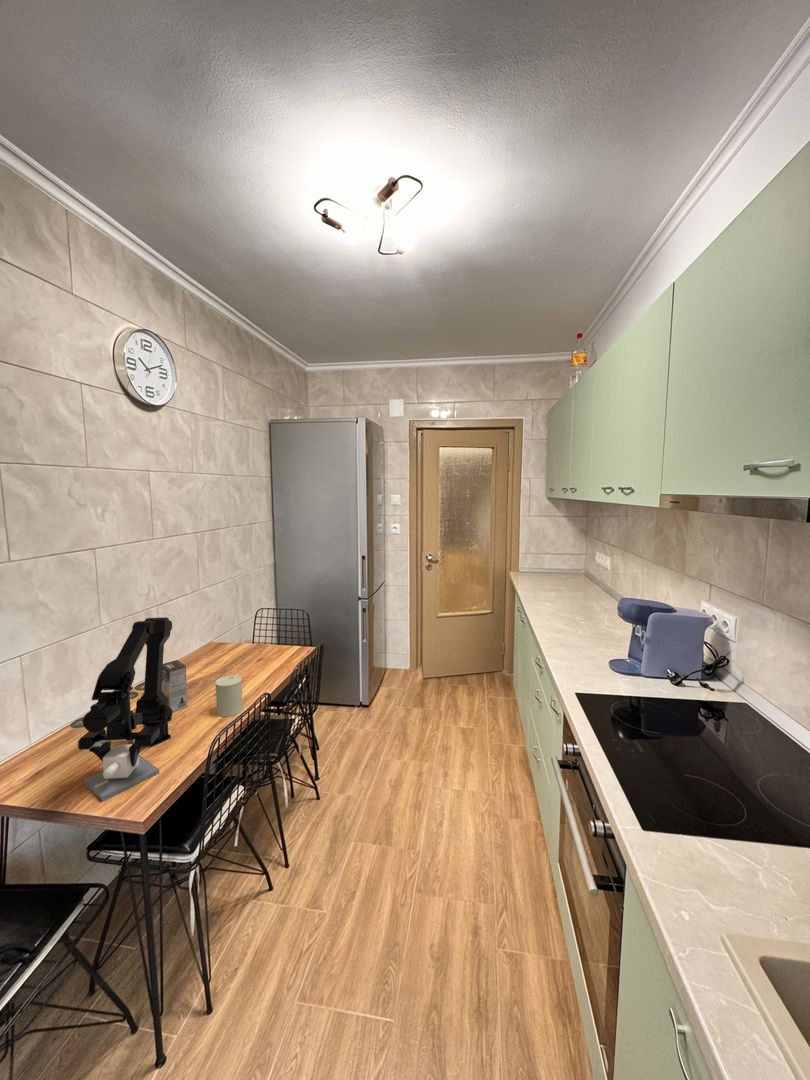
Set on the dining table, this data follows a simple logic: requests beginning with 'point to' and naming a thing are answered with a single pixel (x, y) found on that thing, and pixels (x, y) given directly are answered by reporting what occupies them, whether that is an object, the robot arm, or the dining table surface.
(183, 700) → the coffee box
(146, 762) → the grey slotted slab
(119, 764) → the cream rectangular block
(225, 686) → the can
